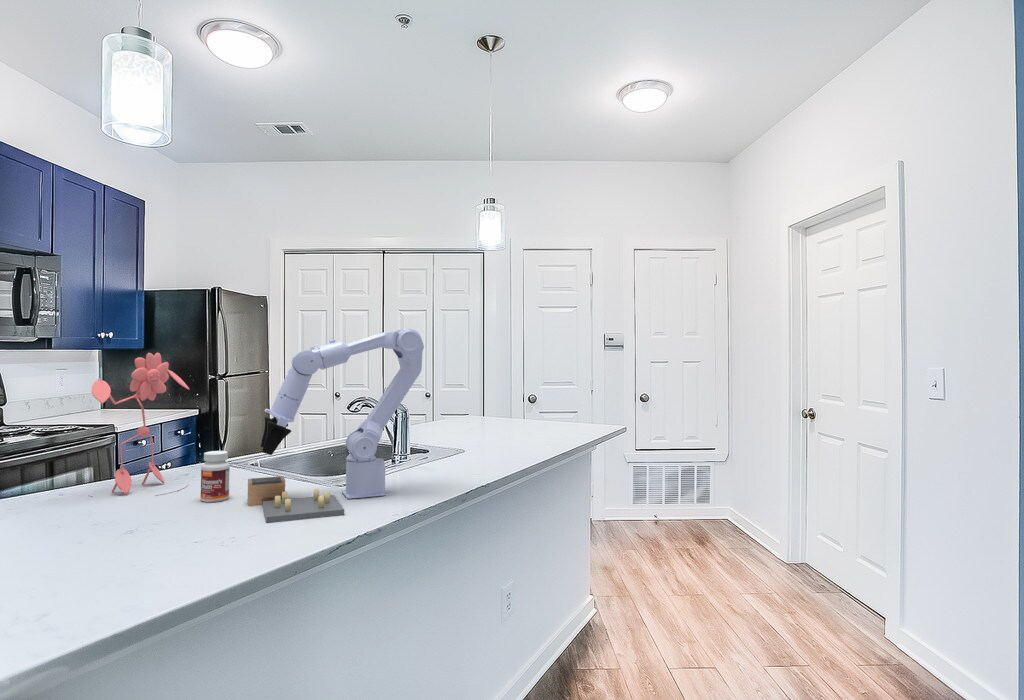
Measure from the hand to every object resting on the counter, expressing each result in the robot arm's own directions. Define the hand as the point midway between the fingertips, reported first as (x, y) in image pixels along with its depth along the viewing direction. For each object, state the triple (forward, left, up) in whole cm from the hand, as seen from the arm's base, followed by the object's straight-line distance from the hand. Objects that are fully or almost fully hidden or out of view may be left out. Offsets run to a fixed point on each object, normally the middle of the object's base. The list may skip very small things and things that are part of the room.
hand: (265, 450), depth 142 cm
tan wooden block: (0, 0, -12) cm, 12 cm away
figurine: (+26, -23, -12) cm, 37 cm away
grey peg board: (-7, +11, -12) cm, 18 cm away
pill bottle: (+11, -7, -12) cm, 18 cm away
